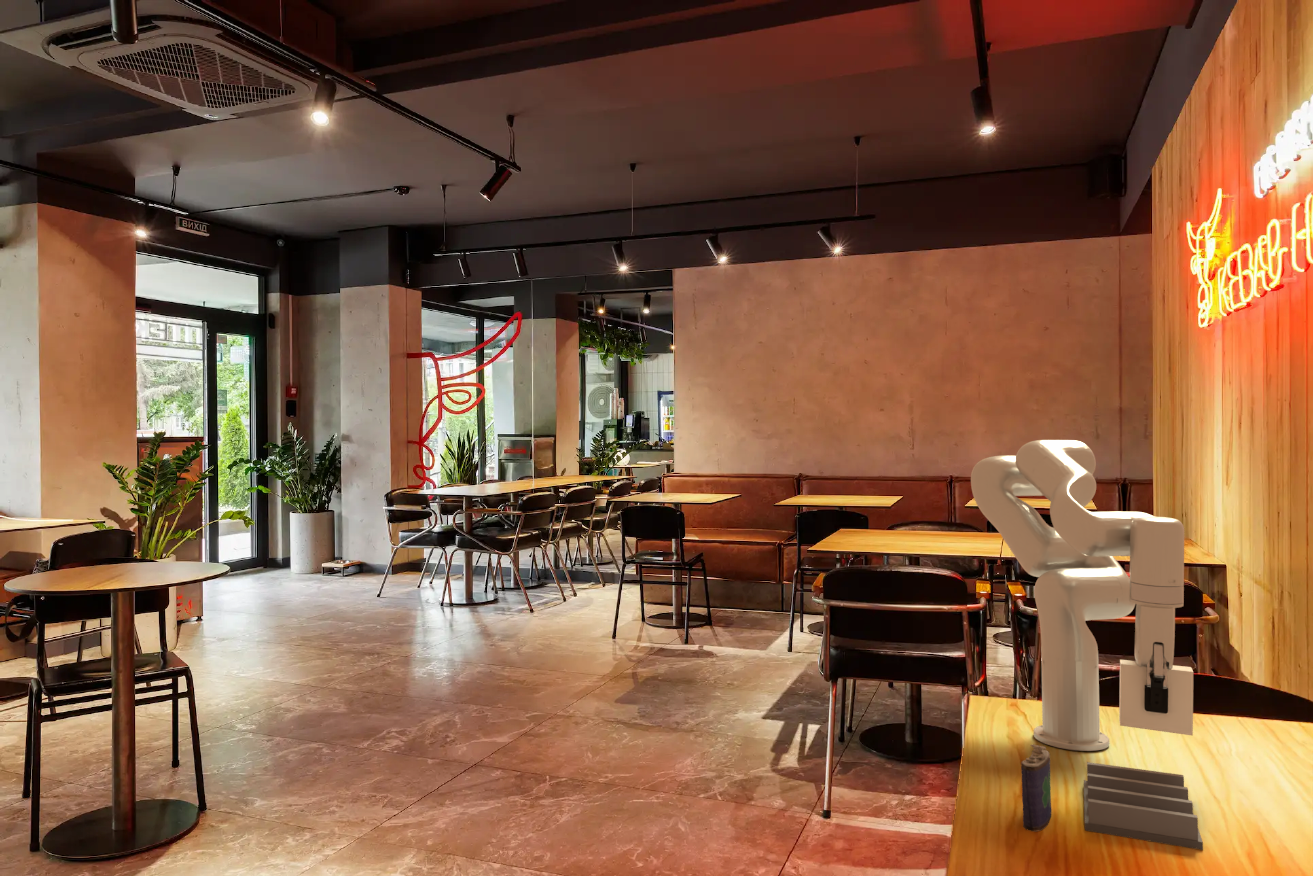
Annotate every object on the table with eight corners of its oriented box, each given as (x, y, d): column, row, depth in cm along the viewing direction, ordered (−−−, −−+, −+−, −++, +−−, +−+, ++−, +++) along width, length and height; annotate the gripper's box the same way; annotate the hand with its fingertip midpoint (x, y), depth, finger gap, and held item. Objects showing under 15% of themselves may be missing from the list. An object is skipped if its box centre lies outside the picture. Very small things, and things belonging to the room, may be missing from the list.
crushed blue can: (1035, 807, 128) (1034, 735, 128) (1056, 812, 126) (1055, 738, 126) (1019, 829, 120) (1018, 752, 121) (1042, 834, 119) (1041, 756, 119)
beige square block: (1119, 720, 141) (1119, 659, 141) (1190, 729, 137) (1191, 667, 137) (1120, 725, 139) (1120, 663, 138) (1192, 735, 134) (1193, 672, 134)
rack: (1083, 786, 136) (1083, 761, 136) (1187, 801, 130) (1186, 775, 130) (1084, 830, 120) (1084, 801, 120) (1202, 850, 114) (1202, 819, 114)
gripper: (1126, 584, 146) (1125, 691, 147) (1132, 601, 132) (1131, 720, 132) (1178, 588, 143) (1176, 697, 143) (1189, 605, 128) (1188, 728, 129)
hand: (1155, 707), depth 138 cm, fingers closed on beige square block, 3 cm apart
